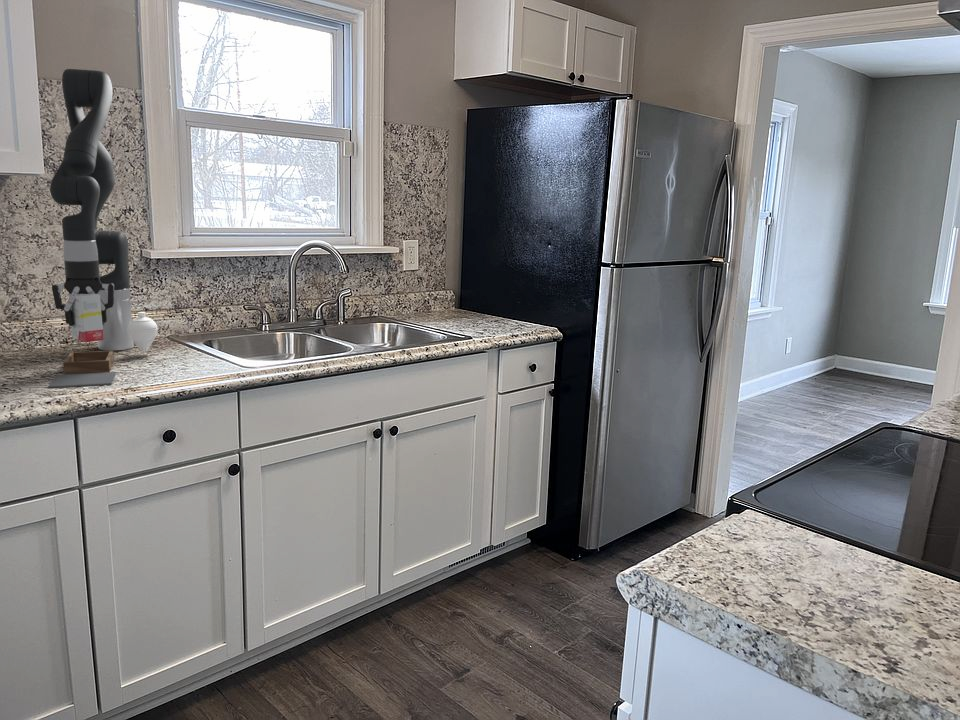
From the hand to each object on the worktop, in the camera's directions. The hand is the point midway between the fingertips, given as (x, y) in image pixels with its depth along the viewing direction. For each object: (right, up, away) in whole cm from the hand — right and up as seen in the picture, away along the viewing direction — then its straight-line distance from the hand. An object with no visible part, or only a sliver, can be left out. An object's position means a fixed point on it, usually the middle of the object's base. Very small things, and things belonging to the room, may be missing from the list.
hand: (86, 324), depth 189 cm
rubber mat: (+5, -14, -11) cm, 18 cm away
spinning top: (+6, -8, +19) cm, 22 cm away
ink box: (0, -4, +1) cm, 4 cm away
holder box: (0, -11, +2) cm, 11 cm away
